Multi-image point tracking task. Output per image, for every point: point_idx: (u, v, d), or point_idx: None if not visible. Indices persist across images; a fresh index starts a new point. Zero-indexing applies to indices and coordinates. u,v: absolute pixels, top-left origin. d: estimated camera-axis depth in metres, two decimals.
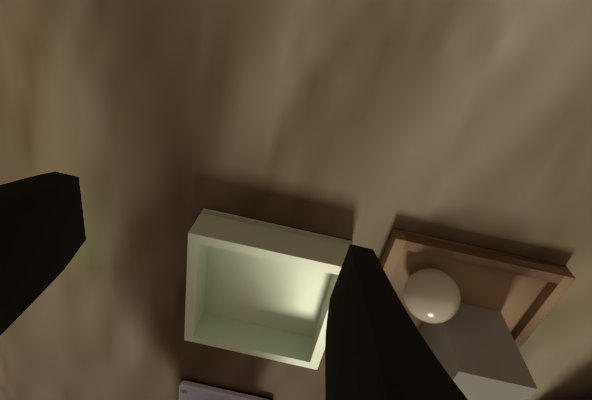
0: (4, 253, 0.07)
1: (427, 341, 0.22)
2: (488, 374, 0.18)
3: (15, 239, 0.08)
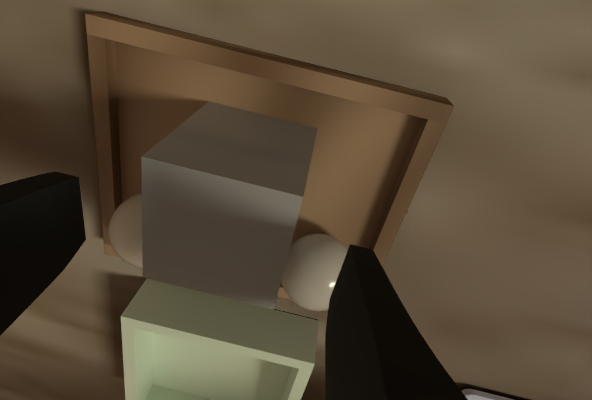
0: (4, 253, 0.07)
1: None
2: (145, 231, 0.10)
3: (15, 239, 0.08)
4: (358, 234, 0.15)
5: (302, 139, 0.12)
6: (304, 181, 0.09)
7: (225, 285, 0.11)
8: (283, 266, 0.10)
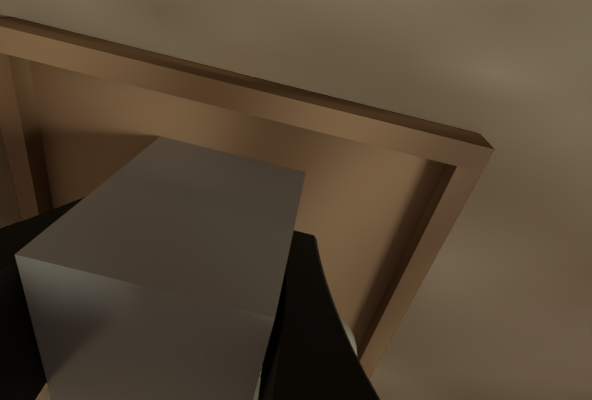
0: None
1: None
2: (47, 345, 0.07)
3: None
4: (360, 299, 0.12)
5: (283, 194, 0.09)
6: (279, 281, 0.06)
7: None
8: (250, 399, 0.07)
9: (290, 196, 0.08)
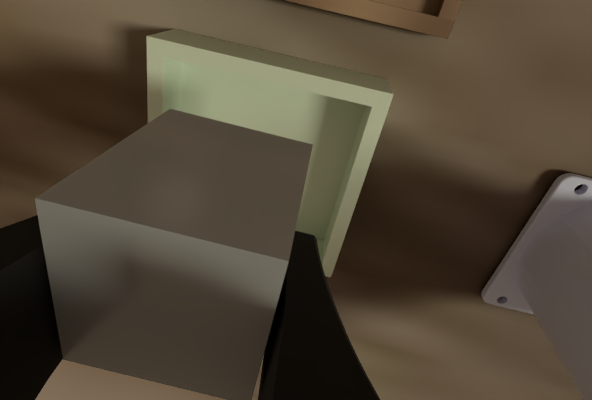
0: None
1: None
2: (61, 299, 0.07)
3: None
4: None
5: (292, 161, 0.09)
6: (291, 231, 0.06)
7: (180, 374, 0.07)
8: (261, 352, 0.07)
9: (298, 163, 0.09)
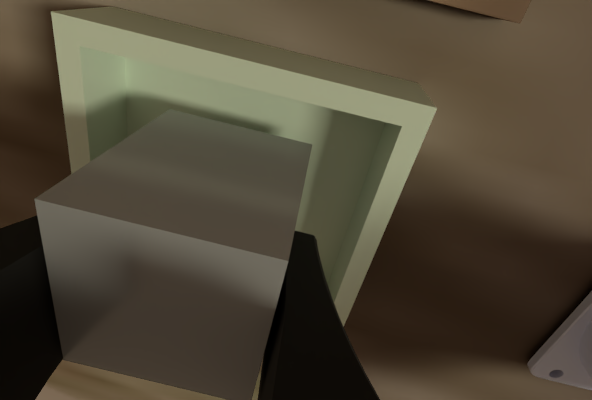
0: None
1: None
2: (61, 300, 0.07)
3: None
4: None
5: (292, 161, 0.09)
6: (291, 231, 0.06)
7: (181, 373, 0.07)
8: (261, 352, 0.07)
9: (298, 163, 0.09)
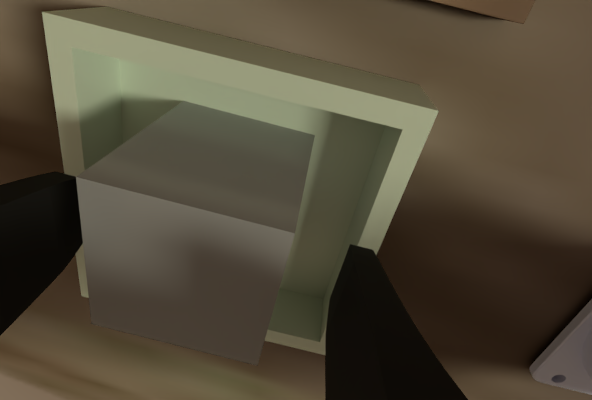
0: (4, 253, 0.07)
1: None
2: (92, 269, 0.08)
3: (15, 239, 0.08)
4: None
5: (296, 149, 0.10)
6: (297, 209, 0.07)
7: (196, 337, 0.08)
8: (269, 316, 0.08)
9: (302, 151, 0.10)
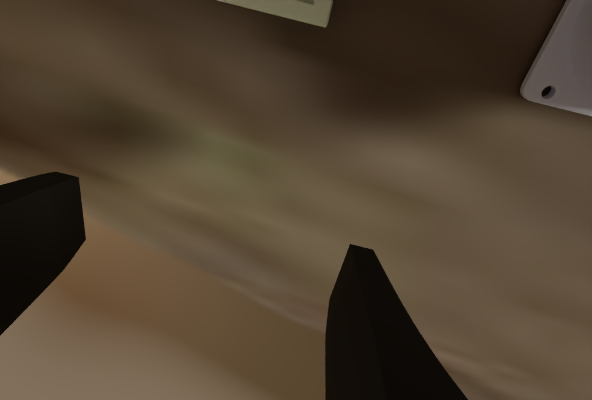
0: (4, 253, 0.07)
1: None
2: None
3: (15, 239, 0.08)
4: None
5: None
6: None
7: None
8: None
9: None
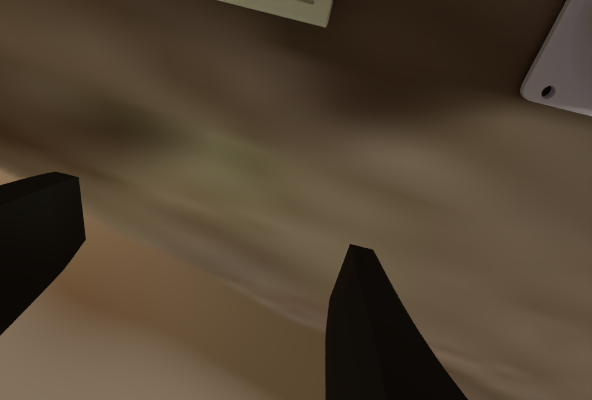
0: (4, 253, 0.07)
1: None
2: None
3: (15, 239, 0.08)
4: None
5: None
6: None
7: None
8: None
9: None
